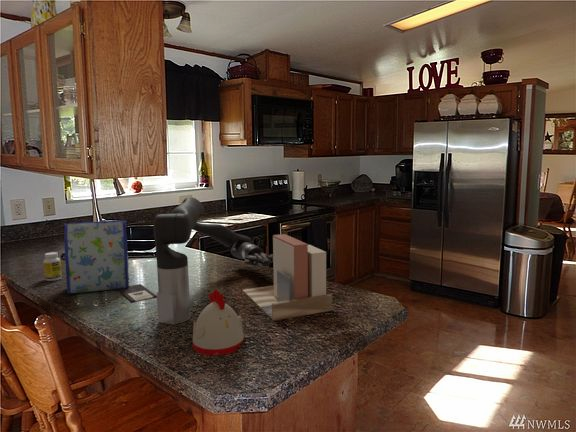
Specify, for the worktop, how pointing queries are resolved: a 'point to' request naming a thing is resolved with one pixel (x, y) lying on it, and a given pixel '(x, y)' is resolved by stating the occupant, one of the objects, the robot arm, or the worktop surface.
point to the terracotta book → (291, 264)
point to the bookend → (280, 291)
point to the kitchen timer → (217, 328)
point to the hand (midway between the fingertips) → (267, 263)
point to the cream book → (316, 271)
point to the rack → (289, 303)
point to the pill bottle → (52, 267)
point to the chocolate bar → (136, 293)
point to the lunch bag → (96, 256)
